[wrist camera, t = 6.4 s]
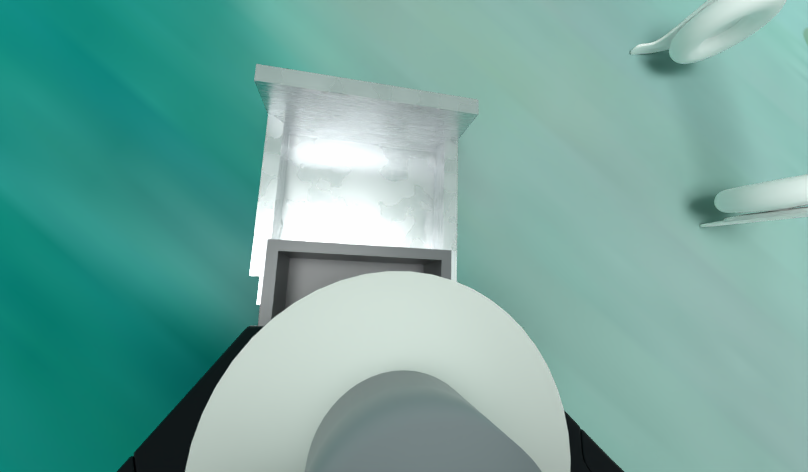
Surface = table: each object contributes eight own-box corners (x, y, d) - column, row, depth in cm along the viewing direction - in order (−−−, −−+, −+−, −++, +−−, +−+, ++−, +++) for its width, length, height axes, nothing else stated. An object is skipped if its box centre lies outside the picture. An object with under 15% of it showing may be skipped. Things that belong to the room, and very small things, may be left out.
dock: (443, 309, 24) (479, 316, 18) (257, 304, 21) (224, 311, 15) (445, 143, 26) (478, 99, 20) (277, 121, 23) (256, 63, 17)
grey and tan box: (437, 421, 22) (497, 502, 13) (250, 429, 19) (184, 533, 11) (439, 258, 24) (494, 243, 15) (269, 248, 21) (225, 224, 13)
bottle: (362, 438, 15) (489, 1255, 2) (265, 354, 15) (-182, 755, 2) (440, 336, 16) (774, 489, 4) (354, 258, 16) (406, 151, 4)
